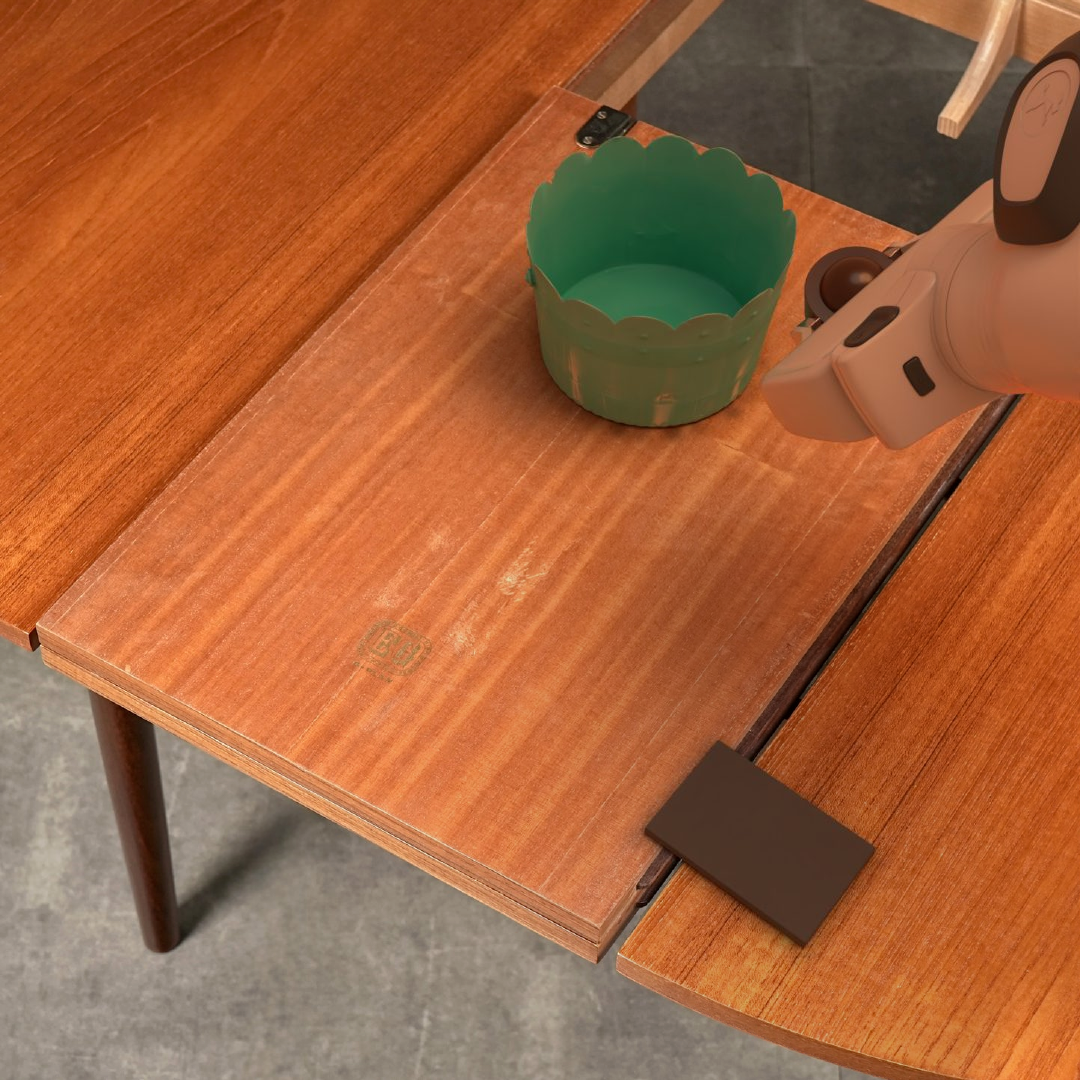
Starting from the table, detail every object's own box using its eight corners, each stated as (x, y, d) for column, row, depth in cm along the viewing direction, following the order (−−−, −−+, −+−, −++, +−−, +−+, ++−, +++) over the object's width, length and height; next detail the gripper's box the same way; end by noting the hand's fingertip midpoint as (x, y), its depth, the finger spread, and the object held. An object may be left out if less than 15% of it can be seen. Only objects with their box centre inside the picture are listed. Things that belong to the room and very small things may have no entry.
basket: (522, 435, 124) (525, 315, 114) (522, 254, 135) (525, 129, 124) (783, 437, 125) (810, 318, 114) (762, 257, 135) (785, 133, 125)
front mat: (874, 852, 106) (876, 847, 105) (803, 948, 102) (805, 943, 102) (716, 744, 110) (718, 738, 109) (643, 832, 106) (644, 827, 106)
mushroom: (909, 316, 108) (917, 239, 100) (888, 397, 106) (895, 325, 98) (816, 299, 109) (817, 223, 102) (794, 379, 107) (793, 306, 100)
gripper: (1090, 139, 91) (940, 151, 104) (819, 379, 88) (698, 361, 100) (1141, 235, 93) (988, 235, 106) (879, 472, 90) (753, 443, 102)
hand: (845, 298), depth 103 cm, fingers closed on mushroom, 6 cm apart
